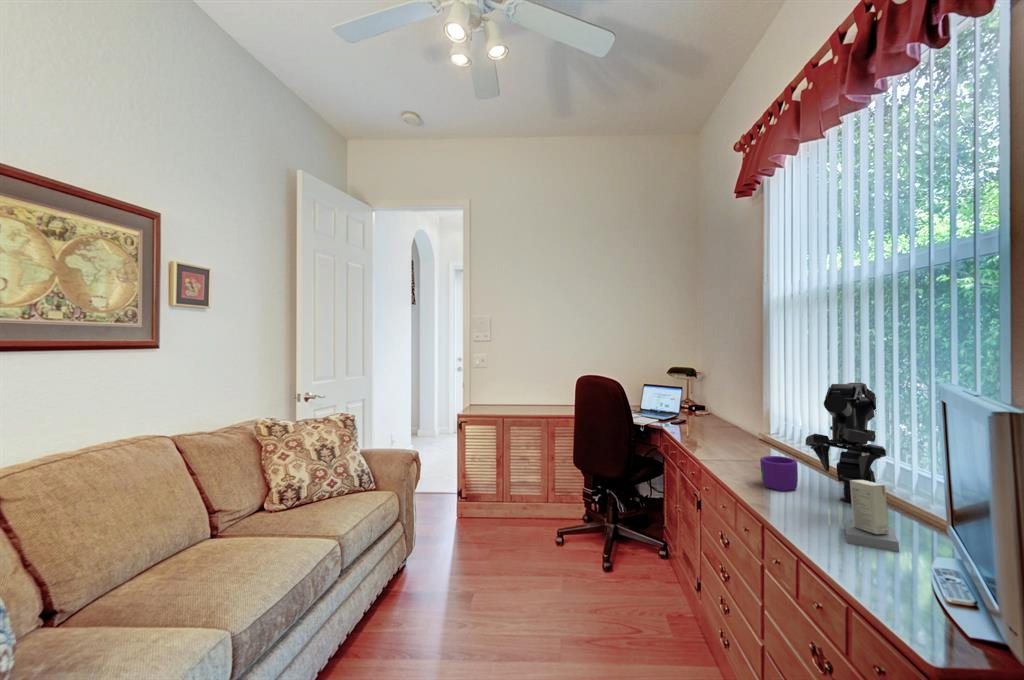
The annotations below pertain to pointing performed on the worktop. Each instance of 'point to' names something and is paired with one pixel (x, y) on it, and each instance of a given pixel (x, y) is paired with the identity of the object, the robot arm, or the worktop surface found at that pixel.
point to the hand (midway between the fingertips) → (845, 475)
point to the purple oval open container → (779, 473)
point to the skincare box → (869, 506)
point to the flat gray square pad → (871, 538)
